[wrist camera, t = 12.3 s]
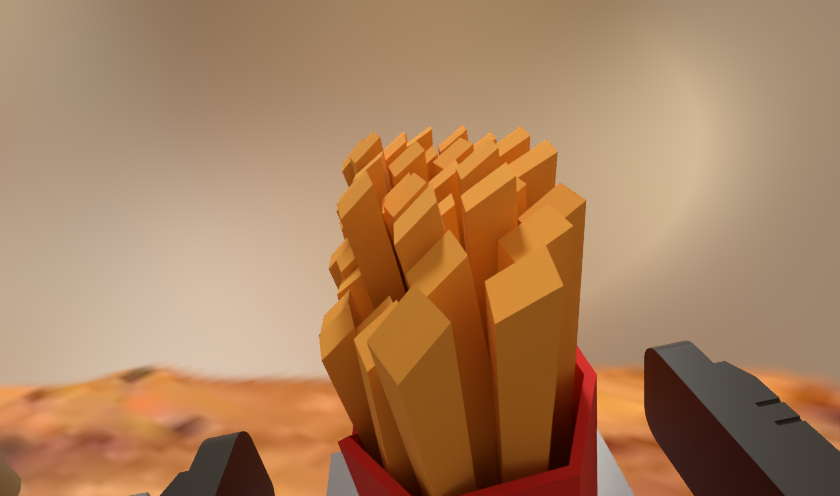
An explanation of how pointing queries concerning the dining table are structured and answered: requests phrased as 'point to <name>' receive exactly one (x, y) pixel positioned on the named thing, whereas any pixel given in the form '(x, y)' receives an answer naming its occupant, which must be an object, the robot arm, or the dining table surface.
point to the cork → (8, 481)
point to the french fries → (461, 321)
